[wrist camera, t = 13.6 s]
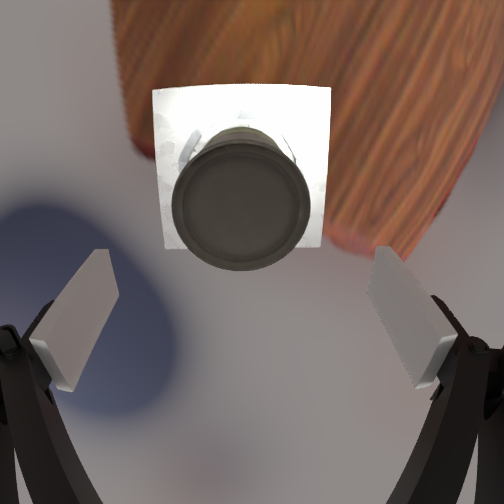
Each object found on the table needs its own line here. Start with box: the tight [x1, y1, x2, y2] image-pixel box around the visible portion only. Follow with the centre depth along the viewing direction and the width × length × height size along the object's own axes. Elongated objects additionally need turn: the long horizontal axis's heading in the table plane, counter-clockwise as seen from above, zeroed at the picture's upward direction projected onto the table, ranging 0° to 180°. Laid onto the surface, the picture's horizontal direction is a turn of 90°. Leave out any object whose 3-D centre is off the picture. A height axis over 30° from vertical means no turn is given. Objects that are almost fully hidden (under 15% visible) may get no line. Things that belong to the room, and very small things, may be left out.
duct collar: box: [152, 84, 331, 249], centre depth 35 cm, size 20×20×2 cm
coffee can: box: [171, 127, 311, 271], centre depth 29 cm, size 10×10×14 cm
